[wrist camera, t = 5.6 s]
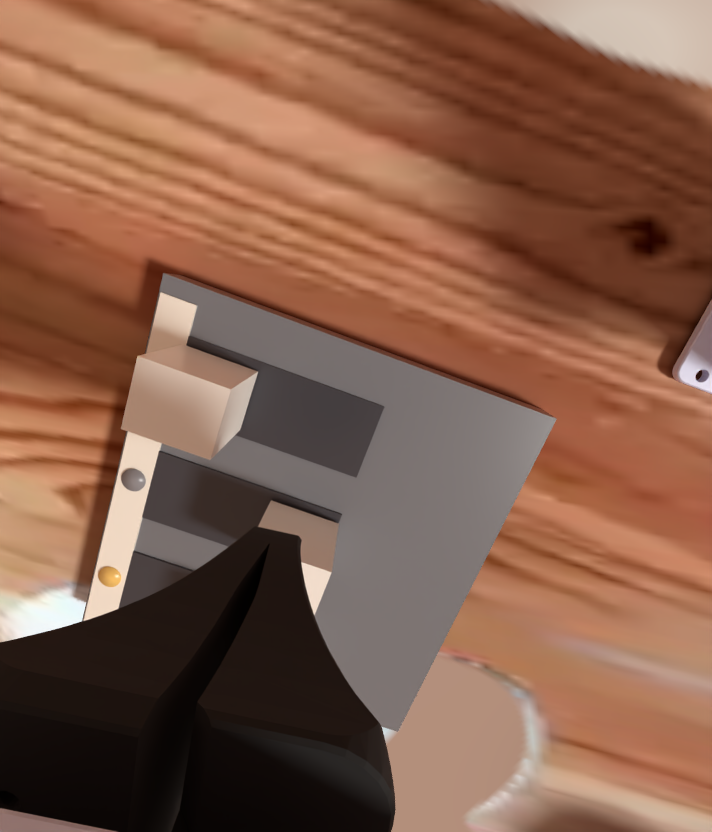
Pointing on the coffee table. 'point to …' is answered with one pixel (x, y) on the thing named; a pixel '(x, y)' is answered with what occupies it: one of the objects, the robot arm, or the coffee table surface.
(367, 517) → the switch bank
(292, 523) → the tab
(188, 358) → the tab
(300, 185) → the coffee table surface
